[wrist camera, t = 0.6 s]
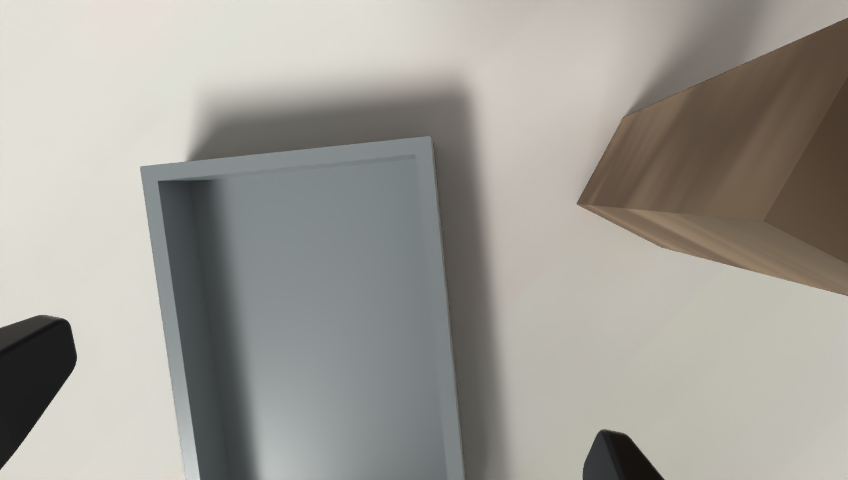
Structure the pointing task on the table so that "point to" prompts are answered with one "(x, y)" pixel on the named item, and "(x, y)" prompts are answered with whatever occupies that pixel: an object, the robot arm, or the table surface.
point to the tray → (307, 313)
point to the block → (743, 166)
